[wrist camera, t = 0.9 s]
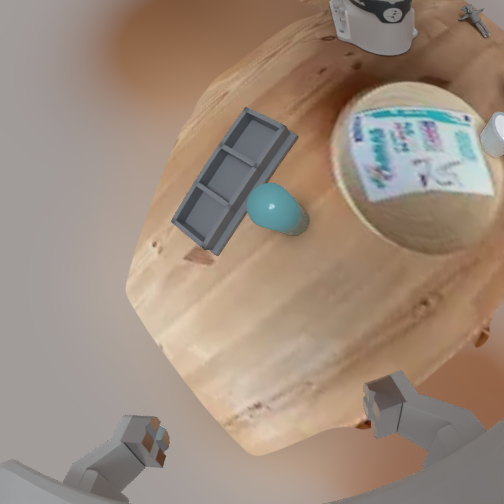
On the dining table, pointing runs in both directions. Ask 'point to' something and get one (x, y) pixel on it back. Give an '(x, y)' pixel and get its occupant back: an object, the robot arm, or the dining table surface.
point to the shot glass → (494, 135)
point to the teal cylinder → (277, 210)
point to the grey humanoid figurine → (474, 18)
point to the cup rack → (232, 179)
